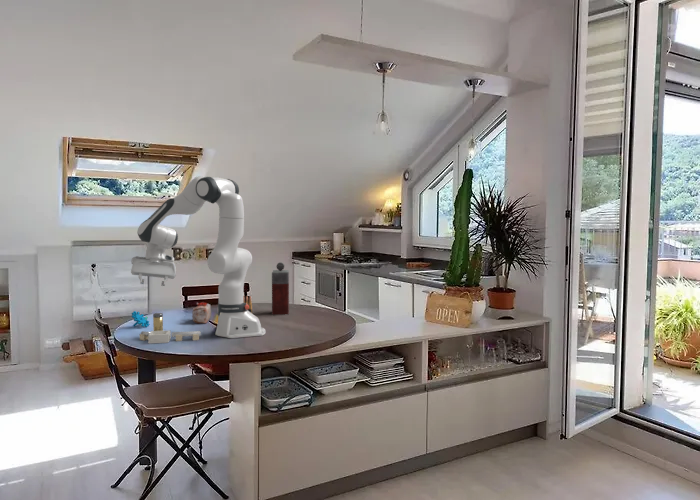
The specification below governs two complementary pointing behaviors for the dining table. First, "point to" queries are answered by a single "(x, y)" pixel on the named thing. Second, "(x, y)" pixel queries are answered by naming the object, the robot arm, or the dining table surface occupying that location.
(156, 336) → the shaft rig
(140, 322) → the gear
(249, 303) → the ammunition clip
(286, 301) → the red grey bottle
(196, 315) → the food item
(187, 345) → the dining table surface
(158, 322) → the yellow jar
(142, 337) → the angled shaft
